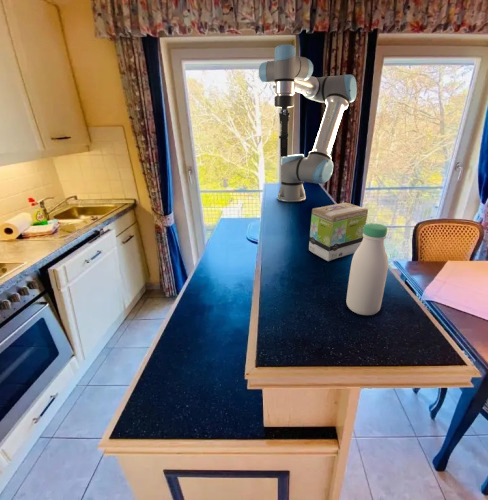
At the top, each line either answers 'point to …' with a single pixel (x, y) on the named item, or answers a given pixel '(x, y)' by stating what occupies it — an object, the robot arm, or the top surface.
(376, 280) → the milk bottle
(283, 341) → the top surface
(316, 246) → the tea box
